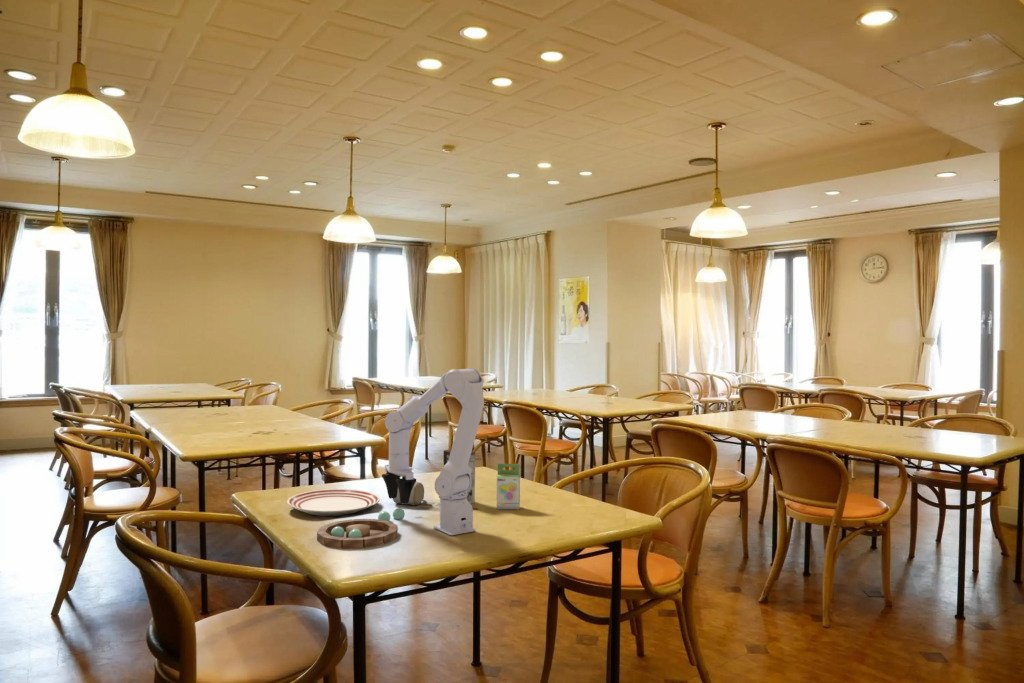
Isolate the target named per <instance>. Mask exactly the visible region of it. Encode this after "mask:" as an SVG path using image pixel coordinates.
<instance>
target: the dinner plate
mask: <svg viewBox="0 0 1024 683" xmlns="http://www.w3.org/2000/svg"><path fill="white" fill-rule="evenodd" d="M380 499H381V498H380V496H379V495H377V493H374V492H371V491H366V490H360V489H350V488H349V489H348V488H327V489H325V488H324V489H316V490H315V489H314V490H308V491H305V492H301V493H297V494H295V495H293V496H290V497H289V498H288V499H287V501H286V503H287V505H288V506H290V507H291V508H293V509H295V510H298V511H300V512H304V513H306V514H307V515H312V516H322V517H324V516H325V517H326V516H329V517H330V516H331V517H332V516H344V515H350V514H355V513H358V512H361V511H362V510H363V511H364V510H366V509H368V508H370V507H373V506H374V505H376V504H378V503H379V502H380Z"/></svg>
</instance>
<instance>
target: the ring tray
mask: <svg viewBox="0 0 1024 683" xmlns="http://www.w3.org/2000/svg"><path fill="white" fill-rule="evenodd" d="M335 527H342V528H343V529H344V532H345V534H344V537H336V536H331V531H332V529H333V528H335ZM353 529H358V530H360V531H361V533H362V538H348V535H349V533H350V531H351V530H353ZM398 529H399V528H398V524H396V523H394V522H392V521H391V520H389V521H385V520H378V518H354V519H353V518H352V519H345V520H339V521H332V522H329V523H328V524H324V525H322V526H319V529H318V530H317V532H316V541H317V543H320V544H321V545H323V546H325V547H330V548H337V549H363V548H364V549H365V548H371V547H372V548H373V547H378V546H382V545H385V544H388V543H390V542H392V541H394V540H396V539H397V537H398Z"/></svg>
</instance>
